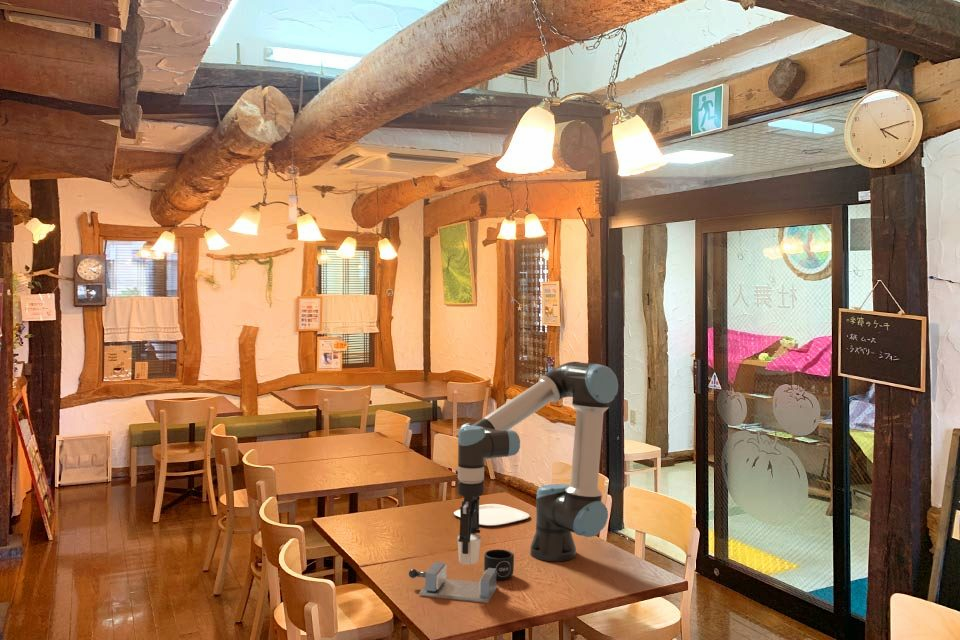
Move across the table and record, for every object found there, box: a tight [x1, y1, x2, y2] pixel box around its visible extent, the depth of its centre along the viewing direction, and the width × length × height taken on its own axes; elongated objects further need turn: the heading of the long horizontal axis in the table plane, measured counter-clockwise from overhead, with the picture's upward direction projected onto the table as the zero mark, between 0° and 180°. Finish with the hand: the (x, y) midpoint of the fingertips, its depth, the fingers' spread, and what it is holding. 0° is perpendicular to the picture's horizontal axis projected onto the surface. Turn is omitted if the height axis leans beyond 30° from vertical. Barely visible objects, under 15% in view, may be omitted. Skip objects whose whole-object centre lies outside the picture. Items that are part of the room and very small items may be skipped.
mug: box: [483, 549, 515, 581], centre depth 240 cm, size 12×9×7 cm
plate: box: [452, 503, 531, 527], centre depth 303 cm, size 25×25×2 cm
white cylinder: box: [457, 533, 482, 565], centre depth 225 cm, size 7×7×7 cm
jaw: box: [408, 561, 448, 591], centre depth 228 cm, size 10×10×5 cm
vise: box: [419, 568, 498, 604], centre depth 226 cm, size 20×12×6 cm, turn 77°
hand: (468, 559), depth 225 cm, fingers closed on white cylinder, 7 cm apart
